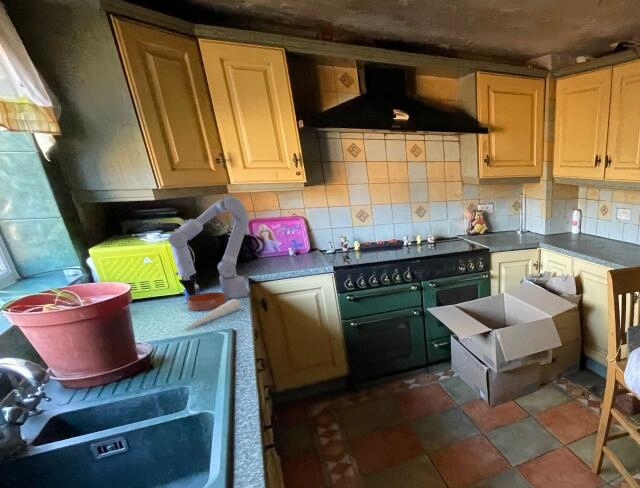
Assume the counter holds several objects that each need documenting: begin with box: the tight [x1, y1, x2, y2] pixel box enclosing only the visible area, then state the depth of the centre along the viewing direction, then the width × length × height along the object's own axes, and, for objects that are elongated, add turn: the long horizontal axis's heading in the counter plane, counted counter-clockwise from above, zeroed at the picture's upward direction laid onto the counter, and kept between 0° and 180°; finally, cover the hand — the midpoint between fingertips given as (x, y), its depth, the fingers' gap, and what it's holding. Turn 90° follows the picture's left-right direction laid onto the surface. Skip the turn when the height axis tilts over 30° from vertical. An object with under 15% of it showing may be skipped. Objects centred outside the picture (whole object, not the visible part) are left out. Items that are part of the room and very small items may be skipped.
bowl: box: [186, 291, 227, 312], centre depth 175 cm, size 13×13×4 cm
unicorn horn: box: [185, 298, 242, 330], centre depth 161 cm, size 5×24×5 cm, turn 165°
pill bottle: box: [182, 280, 202, 302], centre depth 180 cm, size 6×5×10 cm
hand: (192, 292), depth 180 cm, fingers open, 7 cm apart
